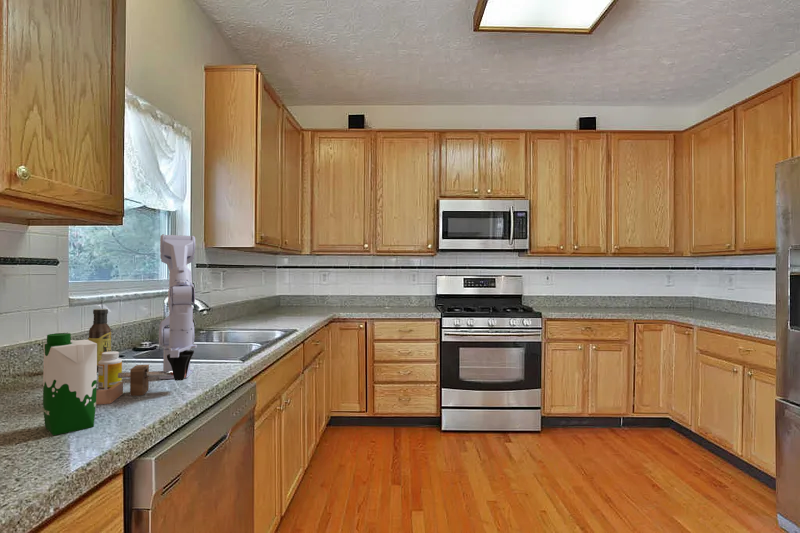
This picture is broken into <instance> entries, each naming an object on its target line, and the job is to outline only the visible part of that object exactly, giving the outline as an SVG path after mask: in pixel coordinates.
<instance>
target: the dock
mask: <svg viewBox="0 0 800 533" xmlns="http://www.w3.org/2000/svg"><path fill="white" fill-rule="evenodd" d="M123 394H124V381H122V382H118V383H116V384H115V385H113V386H112V387H111V388H109V389H108V390H99V389H97V390H96V405H110V404H112V403H113V402H115V401H116V400H117V399H119V397H121V396H122V395H123Z"/></svg>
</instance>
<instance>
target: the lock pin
mask: <svg viewBox="0 0 800 533" xmlns="http://www.w3.org/2000/svg"><path fill="white" fill-rule="evenodd" d="M160 376H174V375H173V371H163V370H158V371H157V370H156V371H155V370H153V371H149V372H145V377H149V378H153V377H155V378H156V377H158V378H159V377H160ZM185 377H186V370H185V376H184V379H186V378H185ZM118 378H122V379H124V378H125V379H126V378H127V379H128V378H129V379H130V372H129V371H128V372H122V373H118Z"/></svg>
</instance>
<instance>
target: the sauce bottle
mask: <svg viewBox="0 0 800 533" xmlns="http://www.w3.org/2000/svg"><path fill="white" fill-rule="evenodd" d="M92 313H93V321H92V322H93V323H92V325H91V326H90V328H89V330H88V339H87V340H89V341H92V342H94V343H97V372H98V362H99V361H100V360H102V353H104V352H110V351H112V331H111V330H112V329H111V328H110V325H109V324H108V314H109V309H108V308H94V309H93V310H92Z"/></svg>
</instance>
